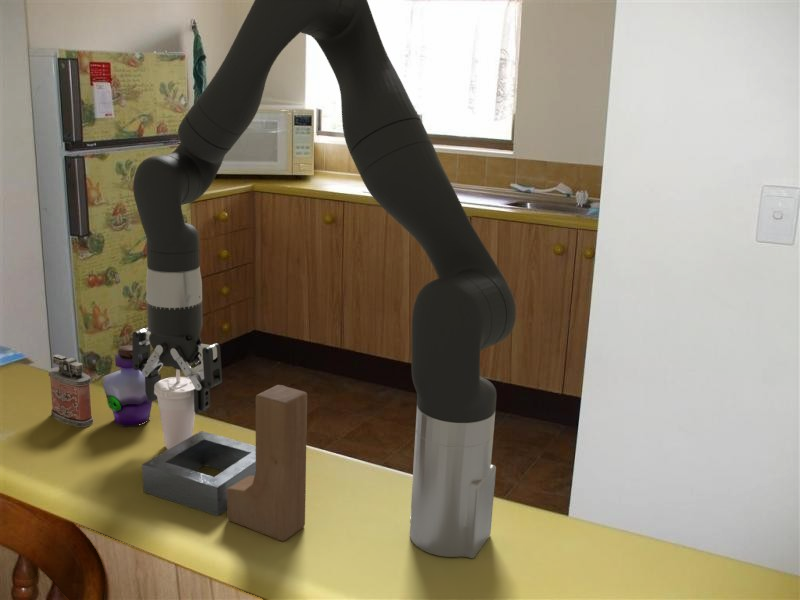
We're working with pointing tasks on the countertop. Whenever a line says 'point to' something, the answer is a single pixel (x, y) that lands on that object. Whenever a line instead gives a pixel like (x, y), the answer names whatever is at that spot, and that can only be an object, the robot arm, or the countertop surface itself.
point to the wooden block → (275, 467)
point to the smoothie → (176, 408)
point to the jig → (185, 486)
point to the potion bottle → (127, 391)
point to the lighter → (70, 392)
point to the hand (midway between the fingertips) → (177, 405)
